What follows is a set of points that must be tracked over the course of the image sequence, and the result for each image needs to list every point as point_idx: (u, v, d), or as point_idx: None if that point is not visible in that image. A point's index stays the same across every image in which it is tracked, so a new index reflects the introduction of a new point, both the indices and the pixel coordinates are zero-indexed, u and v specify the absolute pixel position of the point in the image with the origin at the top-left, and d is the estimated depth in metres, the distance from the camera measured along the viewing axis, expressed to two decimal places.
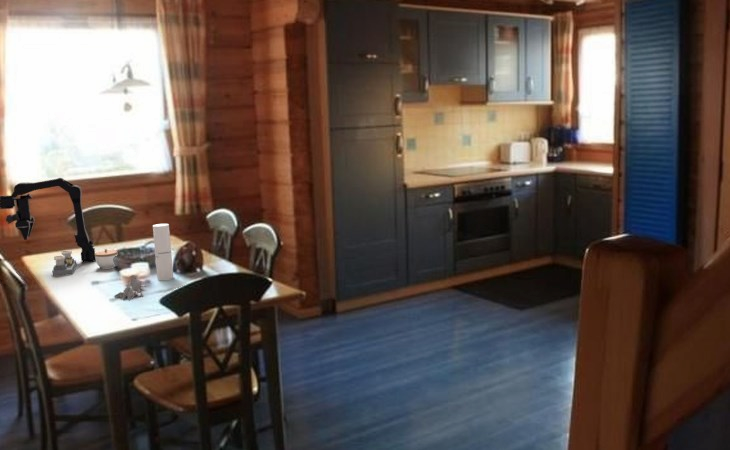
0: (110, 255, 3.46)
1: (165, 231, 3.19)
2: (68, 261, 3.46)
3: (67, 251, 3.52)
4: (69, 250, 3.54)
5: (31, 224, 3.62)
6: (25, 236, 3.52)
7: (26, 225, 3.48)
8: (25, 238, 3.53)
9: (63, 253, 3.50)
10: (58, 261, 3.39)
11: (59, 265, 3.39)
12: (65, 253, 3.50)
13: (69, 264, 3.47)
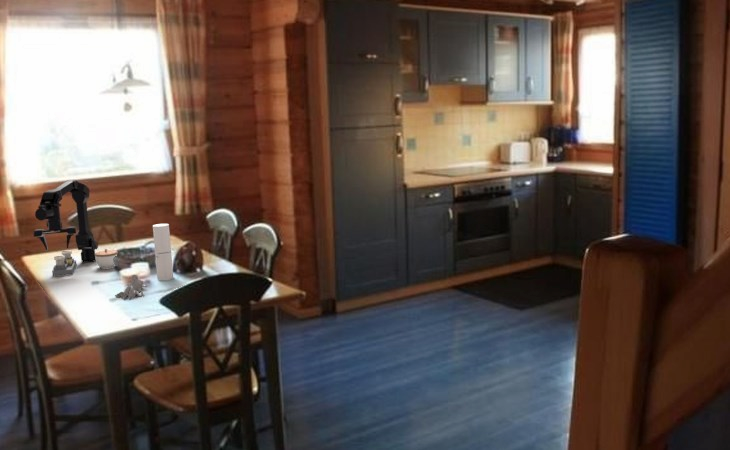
0: (110, 255, 3.46)
1: (165, 231, 3.19)
2: (68, 261, 3.46)
3: (67, 251, 3.52)
4: (69, 250, 3.54)
5: None
6: None
7: None
8: None
9: (63, 253, 3.50)
10: (58, 261, 3.39)
11: (59, 265, 3.39)
12: (65, 253, 3.50)
13: (69, 264, 3.47)
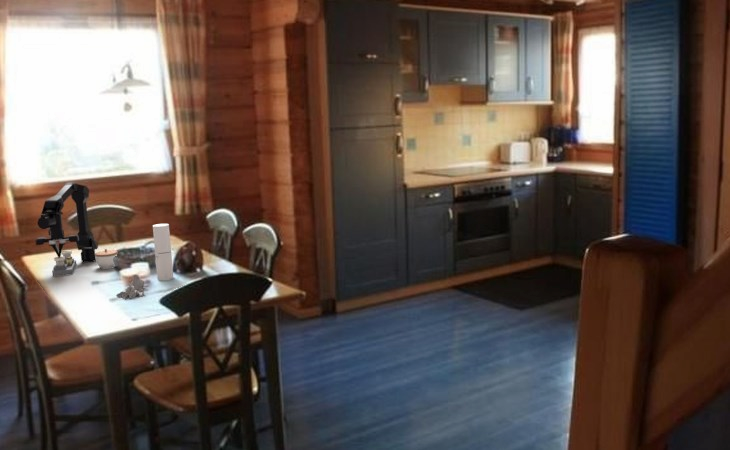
0: (110, 255, 3.46)
1: (165, 231, 3.19)
2: (68, 261, 3.46)
3: (67, 251, 3.52)
4: (69, 250, 3.54)
5: (59, 245, 3.37)
6: None
7: None
8: None
9: (63, 253, 3.50)
10: (58, 262, 3.39)
11: (59, 266, 3.39)
12: (65, 253, 3.50)
13: (69, 264, 3.47)
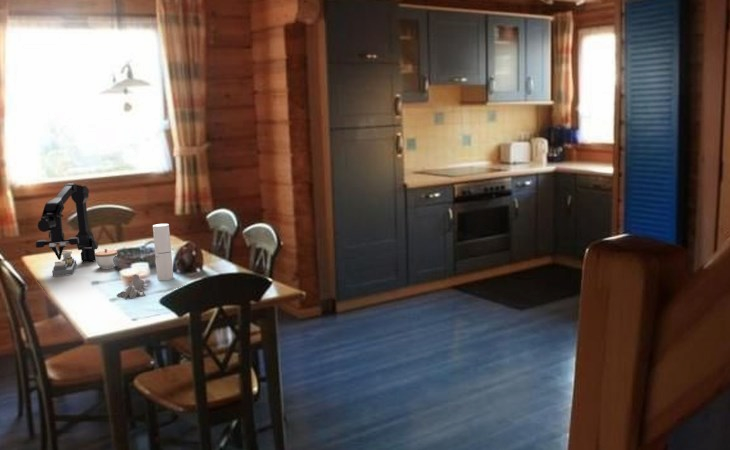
0: (110, 255, 3.46)
1: (165, 231, 3.19)
2: (68, 261, 3.46)
3: (67, 251, 3.52)
4: (69, 250, 3.54)
5: (59, 248, 3.38)
6: None
7: (36, 246, 3.34)
8: None
9: (63, 253, 3.50)
10: None
11: None
12: (65, 253, 3.50)
13: (69, 264, 3.47)
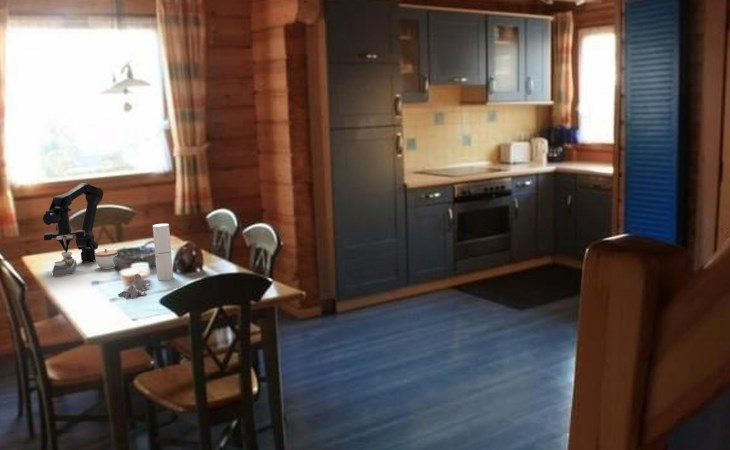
0: (110, 255, 3.46)
1: (165, 231, 3.19)
2: (68, 261, 3.46)
3: (67, 252, 3.52)
4: None
5: (66, 240, 3.49)
6: None
7: (44, 239, 3.46)
8: None
9: (63, 254, 3.50)
10: None
11: None
12: (65, 254, 3.50)
13: (69, 264, 3.47)
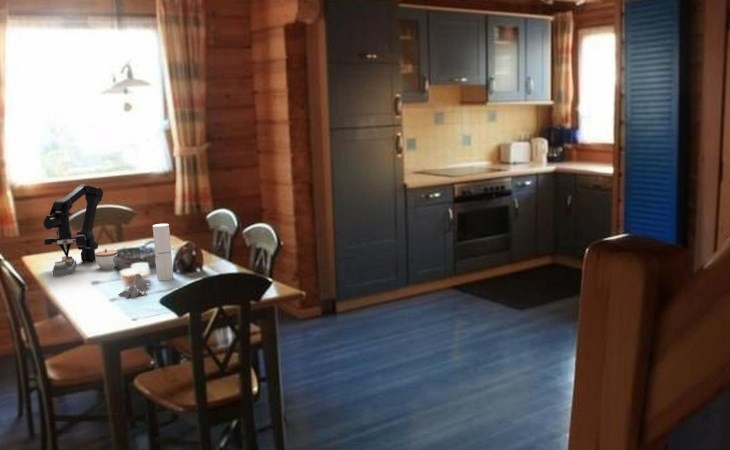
0: (110, 255, 3.46)
1: (165, 231, 3.19)
2: (68, 261, 3.46)
3: (68, 256, 3.52)
4: None
5: None
6: None
7: None
8: None
9: (64, 259, 3.50)
10: None
11: None
12: None
13: (69, 264, 3.47)
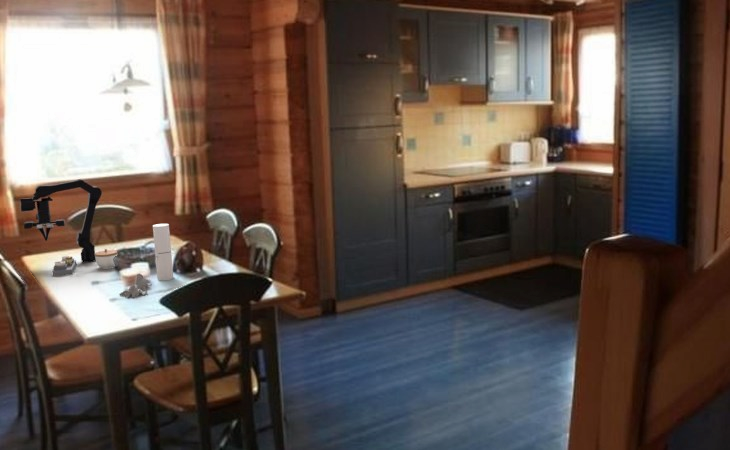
0: (110, 255, 3.46)
1: (165, 231, 3.19)
2: (68, 261, 3.46)
3: (68, 256, 3.52)
4: None
5: (46, 229, 3.54)
6: (44, 237, 3.56)
7: (24, 227, 3.51)
8: (45, 239, 3.57)
9: (64, 259, 3.50)
10: None
11: None
12: None
13: (69, 264, 3.47)
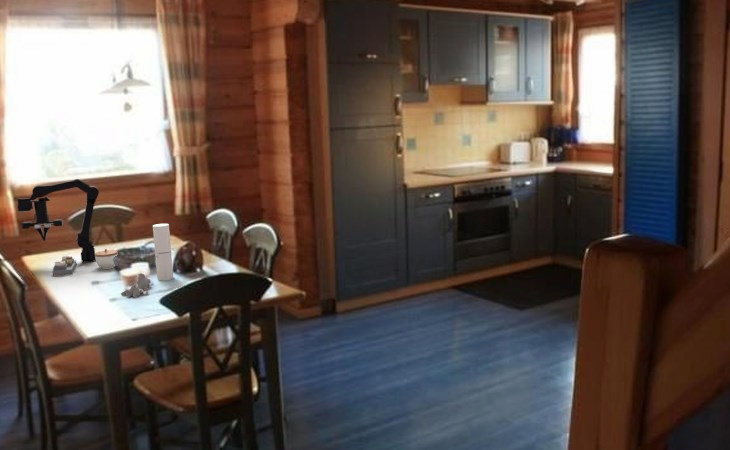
0: (110, 255, 3.46)
1: (165, 231, 3.19)
2: (68, 261, 3.46)
3: (68, 256, 3.52)
4: None
5: (44, 229, 3.56)
6: None
7: (22, 227, 3.53)
8: None
9: (64, 259, 3.50)
10: None
11: None
12: None
13: (69, 264, 3.47)
